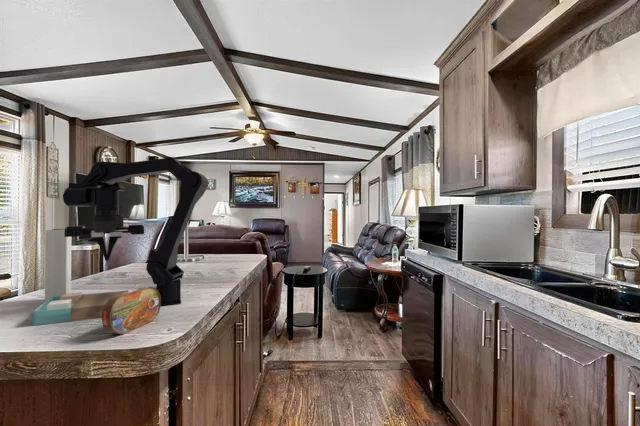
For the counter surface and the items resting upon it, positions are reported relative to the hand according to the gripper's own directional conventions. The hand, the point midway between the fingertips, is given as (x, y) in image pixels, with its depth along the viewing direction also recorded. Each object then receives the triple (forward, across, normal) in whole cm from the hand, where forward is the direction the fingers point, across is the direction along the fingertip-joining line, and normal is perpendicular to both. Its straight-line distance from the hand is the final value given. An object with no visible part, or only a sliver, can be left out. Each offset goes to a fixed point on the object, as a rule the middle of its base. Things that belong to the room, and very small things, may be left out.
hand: (107, 260), depth 92 cm
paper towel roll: (+12, -13, +10) cm, 21 cm away
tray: (+12, -10, -6) cm, 17 cm away
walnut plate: (+12, -1, -6) cm, 14 cm away
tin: (+13, +7, -26) cm, 30 cm away
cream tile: (+10, -9, -10) cm, 17 cm away
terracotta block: (+10, -8, -2) cm, 13 cm away
